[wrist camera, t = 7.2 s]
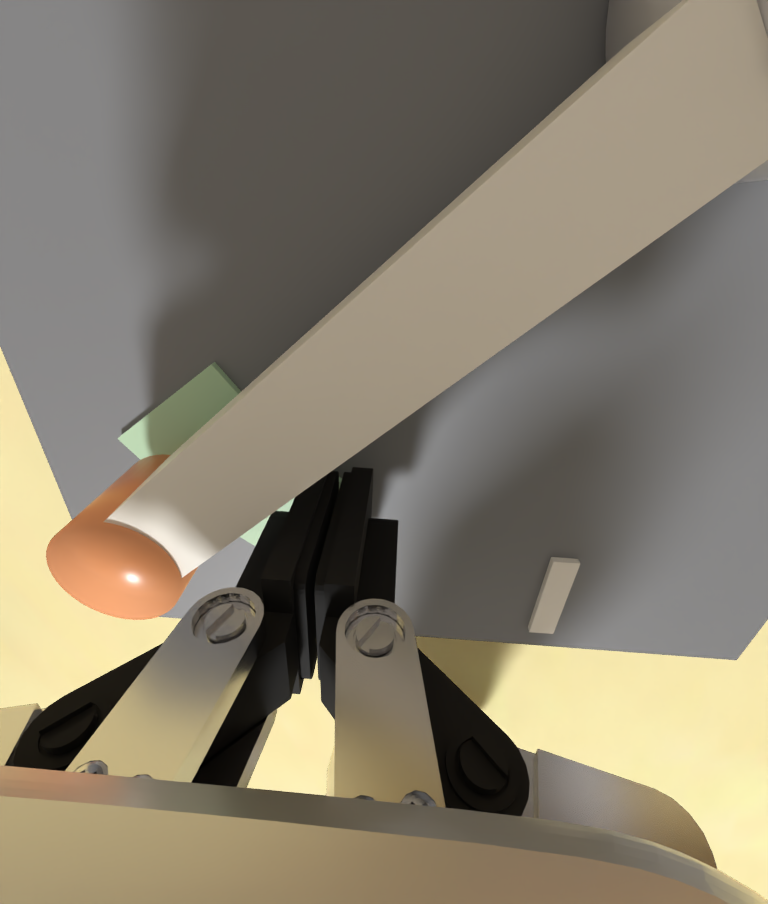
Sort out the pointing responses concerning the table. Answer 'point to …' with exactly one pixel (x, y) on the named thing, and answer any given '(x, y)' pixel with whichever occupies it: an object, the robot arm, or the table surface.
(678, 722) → the table surface
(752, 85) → the white bar with knob
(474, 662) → the table surface
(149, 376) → the dial board
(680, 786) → the table surface
